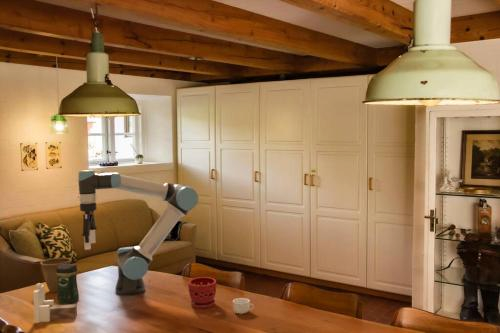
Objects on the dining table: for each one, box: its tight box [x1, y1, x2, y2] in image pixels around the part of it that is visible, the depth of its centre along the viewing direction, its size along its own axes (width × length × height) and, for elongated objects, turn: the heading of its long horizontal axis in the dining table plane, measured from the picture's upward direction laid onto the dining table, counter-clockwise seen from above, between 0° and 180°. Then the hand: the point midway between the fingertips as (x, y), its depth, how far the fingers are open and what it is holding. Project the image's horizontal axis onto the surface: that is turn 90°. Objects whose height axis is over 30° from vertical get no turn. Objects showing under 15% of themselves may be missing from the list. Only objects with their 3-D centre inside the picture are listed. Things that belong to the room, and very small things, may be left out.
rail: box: [50, 304, 78, 321], centre depth 228 cm, size 14×4×5 cm, turn 97°
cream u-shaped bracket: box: [32, 282, 55, 324], centre depth 227 cm, size 6×10×16 cm, turn 7°
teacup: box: [232, 297, 255, 315], centre depth 230 cm, size 10×8×5 cm
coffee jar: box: [56, 263, 80, 304], centre depth 251 cm, size 10×8×19 cm
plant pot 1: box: [40, 257, 72, 294], centre depth 268 cm, size 15×15×16 cm
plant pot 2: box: [188, 276, 217, 309], centre depth 240 cm, size 13×13×12 cm
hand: (90, 246), depth 244 cm, fingers open, 13 cm apart
